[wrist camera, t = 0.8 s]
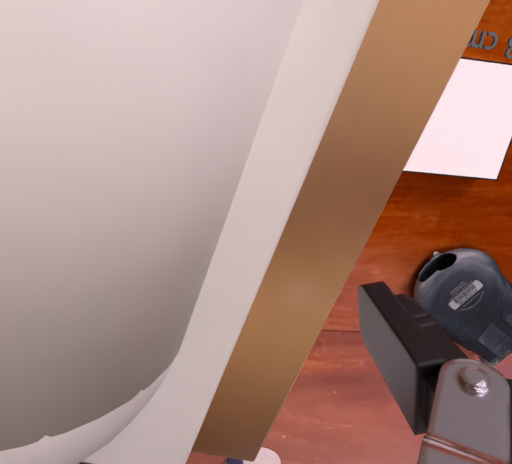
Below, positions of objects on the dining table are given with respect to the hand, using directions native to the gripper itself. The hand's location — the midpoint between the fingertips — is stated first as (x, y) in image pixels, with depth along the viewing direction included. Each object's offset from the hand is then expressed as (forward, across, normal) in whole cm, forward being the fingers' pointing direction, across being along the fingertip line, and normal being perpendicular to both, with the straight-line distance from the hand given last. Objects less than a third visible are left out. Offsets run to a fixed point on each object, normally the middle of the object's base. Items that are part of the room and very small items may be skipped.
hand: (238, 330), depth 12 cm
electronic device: (+23, -24, +19) cm, 38 cm away
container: (+23, -21, -2) cm, 32 cm away
